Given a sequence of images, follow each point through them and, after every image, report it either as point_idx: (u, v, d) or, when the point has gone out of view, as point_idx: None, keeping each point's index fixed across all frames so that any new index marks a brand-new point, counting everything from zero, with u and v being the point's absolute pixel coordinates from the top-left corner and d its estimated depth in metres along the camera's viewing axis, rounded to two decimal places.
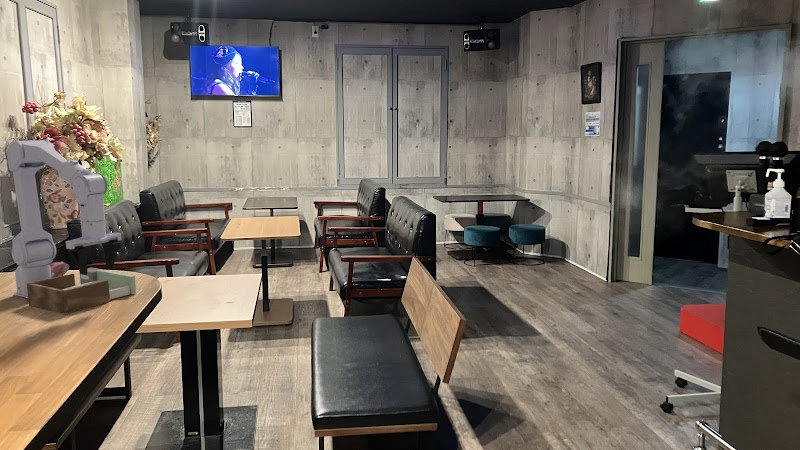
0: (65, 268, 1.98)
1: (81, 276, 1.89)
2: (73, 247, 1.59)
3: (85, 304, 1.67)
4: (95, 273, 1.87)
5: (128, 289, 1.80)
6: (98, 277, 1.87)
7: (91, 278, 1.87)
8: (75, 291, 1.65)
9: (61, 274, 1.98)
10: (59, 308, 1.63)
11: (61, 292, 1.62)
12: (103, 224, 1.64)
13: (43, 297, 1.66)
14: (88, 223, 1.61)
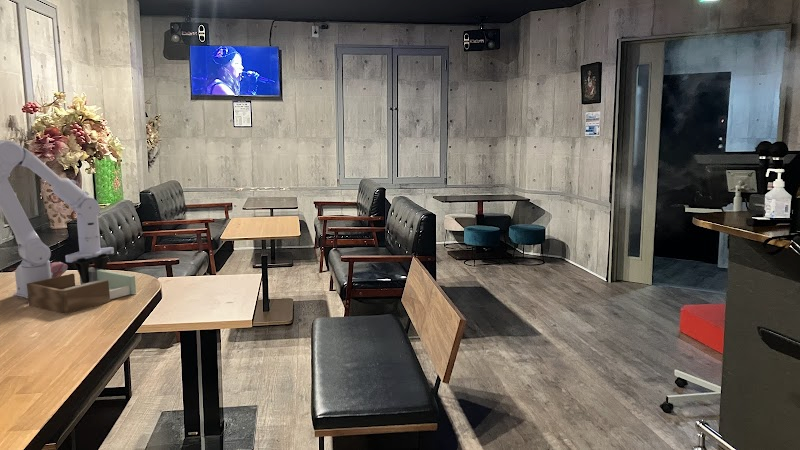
0: (63, 268, 1.98)
1: None
2: (71, 260, 1.83)
3: (85, 304, 1.67)
4: (95, 273, 1.87)
5: (128, 289, 1.80)
6: (98, 277, 1.87)
7: (91, 277, 1.87)
8: (75, 291, 1.65)
9: (59, 274, 1.98)
10: (59, 308, 1.63)
11: (61, 292, 1.62)
12: (98, 240, 1.88)
13: (43, 297, 1.66)
14: (85, 239, 1.85)
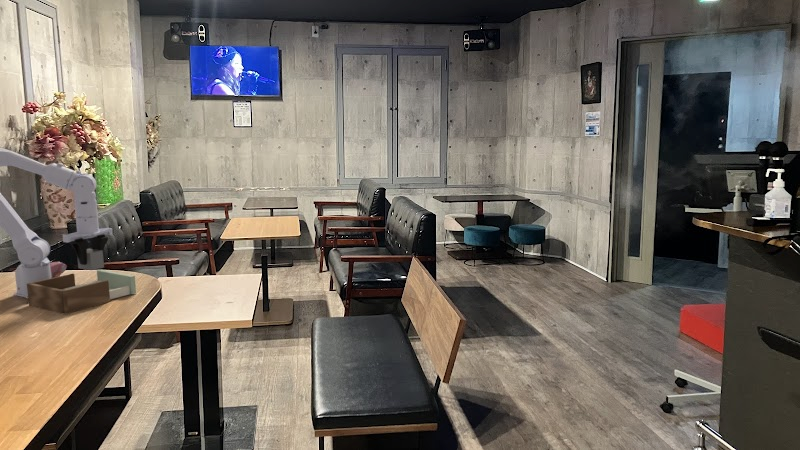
0: (62, 268, 1.98)
1: None
2: (69, 240, 1.76)
3: (85, 304, 1.67)
4: (93, 254, 1.81)
5: (128, 289, 1.80)
6: (98, 277, 1.87)
7: (89, 258, 1.80)
8: (75, 291, 1.65)
9: (58, 274, 1.98)
10: (59, 308, 1.63)
11: (61, 292, 1.62)
12: (96, 220, 1.81)
13: (43, 297, 1.66)
14: (82, 219, 1.78)
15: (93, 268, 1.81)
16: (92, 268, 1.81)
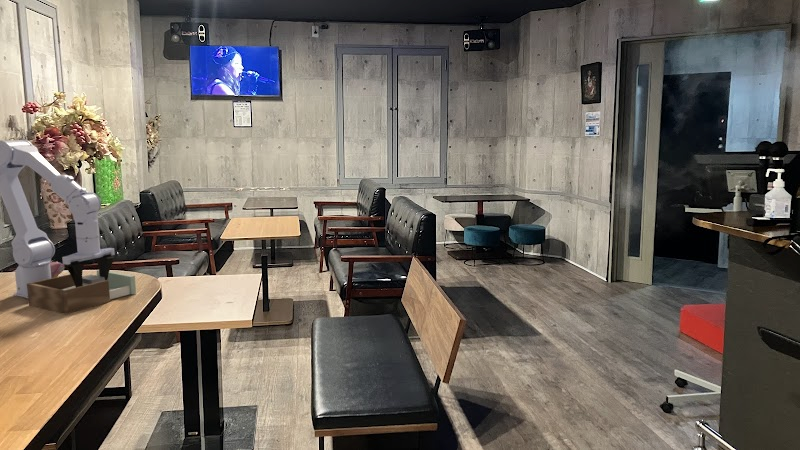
0: (60, 268, 1.99)
1: None
2: (69, 262, 1.70)
3: (85, 304, 1.67)
4: (95, 281, 1.75)
5: (128, 289, 1.80)
6: None
7: None
8: (75, 291, 1.65)
9: (57, 274, 1.98)
10: (59, 308, 1.63)
11: (61, 292, 1.62)
12: (97, 240, 1.75)
13: (43, 297, 1.66)
14: (83, 240, 1.72)
15: None
16: None
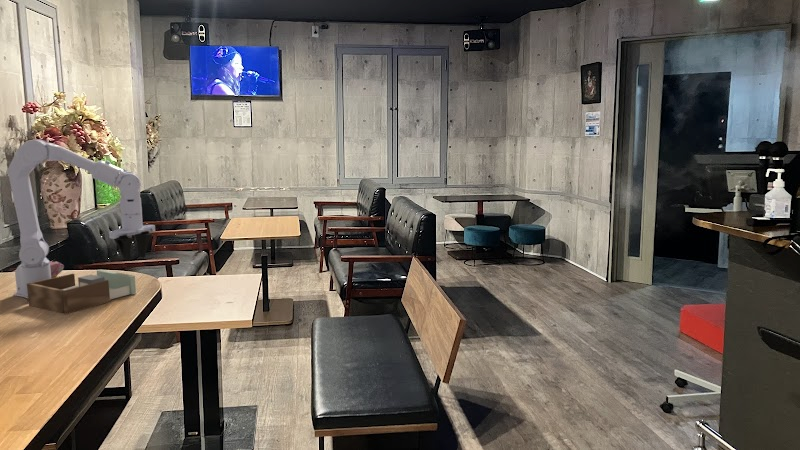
0: (60, 268, 1.99)
1: (80, 284, 1.77)
2: (115, 237, 1.82)
3: (85, 304, 1.67)
4: (95, 281, 1.75)
5: (128, 289, 1.80)
6: None
7: None
8: (75, 291, 1.65)
9: (56, 274, 1.98)
10: (59, 308, 1.63)
11: (61, 292, 1.62)
12: (140, 217, 1.87)
13: (43, 297, 1.66)
14: (128, 216, 1.84)
15: None
16: None
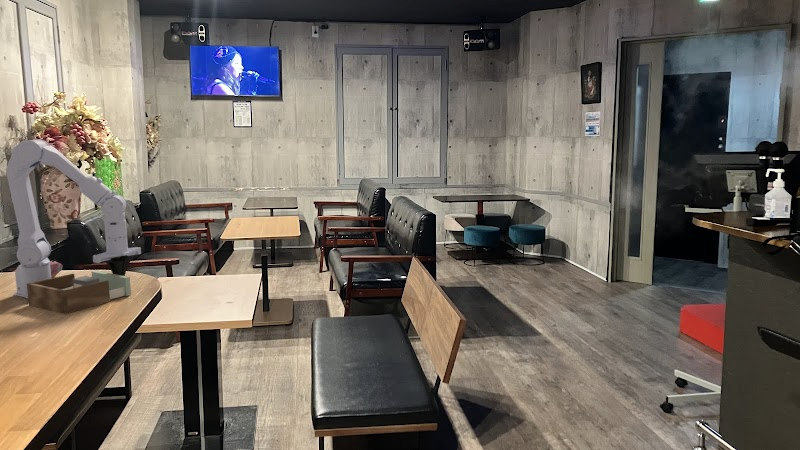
0: (58, 268, 1.99)
1: (74, 285, 1.75)
2: (99, 261, 1.78)
3: (85, 304, 1.67)
4: (89, 282, 1.73)
5: (123, 290, 1.79)
6: None
7: None
8: (75, 291, 1.65)
9: (54, 274, 1.99)
10: (59, 308, 1.63)
11: (61, 292, 1.62)
12: (125, 240, 1.83)
13: (43, 297, 1.66)
14: (112, 239, 1.80)
15: None
16: None
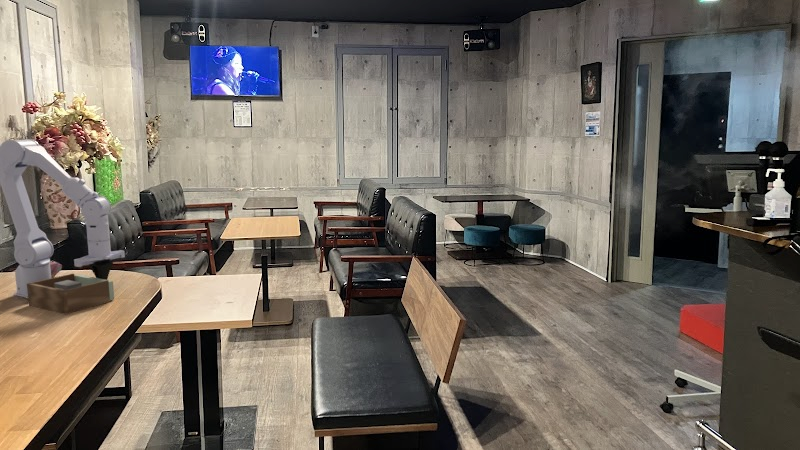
0: (58, 268, 1.99)
1: None
2: (81, 265, 1.73)
3: (85, 304, 1.67)
4: (71, 286, 1.69)
5: None
6: None
7: None
8: (75, 291, 1.65)
9: (54, 274, 1.99)
10: (59, 308, 1.63)
11: (61, 292, 1.62)
12: (108, 243, 1.78)
13: (43, 297, 1.66)
14: (94, 242, 1.75)
15: None
16: None
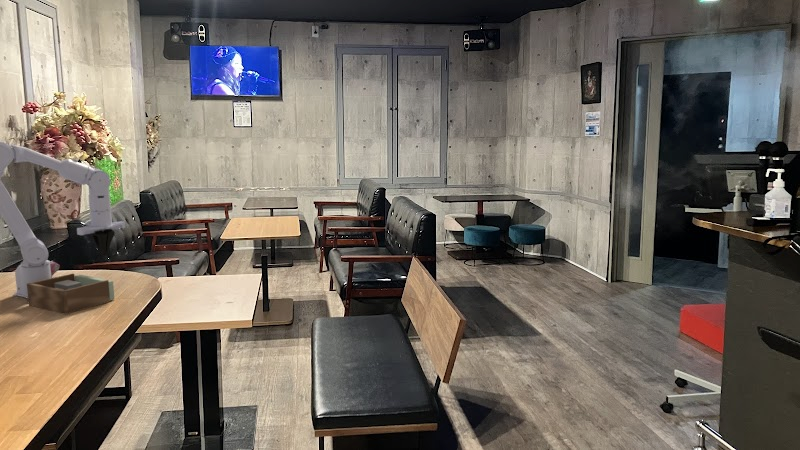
0: (55, 267, 1.99)
1: None
2: (83, 233, 1.81)
3: (85, 304, 1.67)
4: (71, 286, 1.69)
5: None
6: None
7: None
8: (75, 291, 1.65)
9: (51, 273, 1.99)
10: (59, 308, 1.63)
11: (61, 292, 1.62)
12: (109, 213, 1.86)
13: (43, 297, 1.66)
14: (96, 212, 1.84)
15: None
16: None
